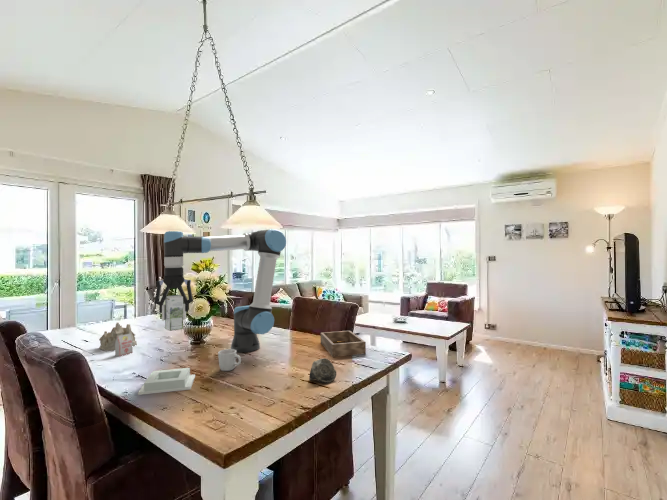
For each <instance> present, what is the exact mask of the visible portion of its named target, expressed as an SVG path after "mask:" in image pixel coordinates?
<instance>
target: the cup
mask: <svg viewBox="0 0 667 500" xmlns="http://www.w3.org/2000/svg"><path fill="white" fill-rule="evenodd" d="M237 353H238V352H237V351H236V350H234V349H231V348H226V349H221V350H219V351H217V358H218V365H219V369H220V371H222V372H229V371H233V370H234V369H235V368H236V366H240V365H241V362H242V358H241V356H240V355H239V354H237ZM237 359H238V362H237Z"/></svg>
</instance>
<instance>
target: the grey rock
mask: <svg viewBox="0 0 667 500" xmlns="http://www.w3.org/2000/svg"><path fill="white" fill-rule="evenodd" d="M126 334H131V338H132V346H133V347H136V346H138V343H137V340H136V337H135V336H136V334H135V333H134V332H133V330H132V326H131V324H130V323H129V324H126V327H123V326H122V325H121V324H120V322H116V323H115V327H114V326H113V327H112V329H111V331H110V332H108V331H107V330H105V331H104V333H103V334H102V335H101V336H100V337H99V338H98V339H99V341H100V346H99V350H101V351H108V352H110V351H111V352H113V350H115V343H116V339H117V336H121V335H126ZM135 345H136V346H135Z"/></svg>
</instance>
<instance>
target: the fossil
mask: <svg viewBox="0 0 667 500" xmlns="http://www.w3.org/2000/svg"><path fill="white" fill-rule="evenodd" d="M308 376H309V378H308V379H309V381H315V380H316V381H317V382H319V383H321V384H330V383H332V382H333V381H334V380H335V379H336V376H337V370H336V369H335V366H334V364H333V363H332V362H331V361H330V359H328V358H319V359H317V360H314V361H313V362H312V364H311V368H310V371H309V375H308Z"/></svg>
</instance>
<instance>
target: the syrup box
mask: <svg viewBox="0 0 667 500" xmlns="http://www.w3.org/2000/svg"><path fill="white" fill-rule="evenodd" d="M183 304H184V300H183V297H182V296H181V294H177V295H175V294H174V295H167V296H166V298H165V301H164V305H165V320H164V321H165V322H164V324H165V325H164V326H165V327H164V329H165V330H167V331H169V332H172V331H179V330H183V329H184V320H183Z"/></svg>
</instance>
